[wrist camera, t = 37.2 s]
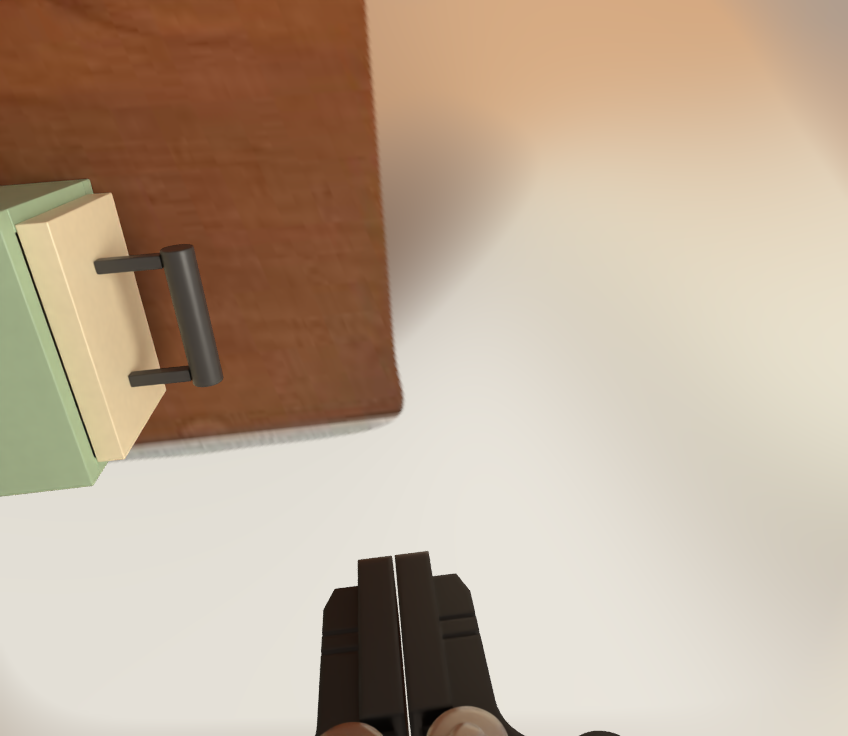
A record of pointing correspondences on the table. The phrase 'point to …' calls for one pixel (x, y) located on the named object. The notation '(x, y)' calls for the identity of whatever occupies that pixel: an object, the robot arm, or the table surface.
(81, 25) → the table surface
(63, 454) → the cabinet
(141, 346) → the drawer
